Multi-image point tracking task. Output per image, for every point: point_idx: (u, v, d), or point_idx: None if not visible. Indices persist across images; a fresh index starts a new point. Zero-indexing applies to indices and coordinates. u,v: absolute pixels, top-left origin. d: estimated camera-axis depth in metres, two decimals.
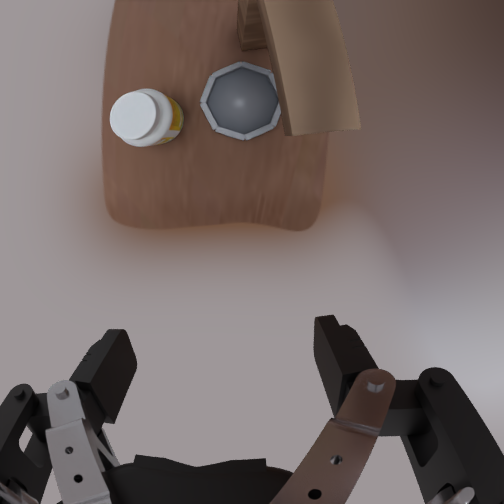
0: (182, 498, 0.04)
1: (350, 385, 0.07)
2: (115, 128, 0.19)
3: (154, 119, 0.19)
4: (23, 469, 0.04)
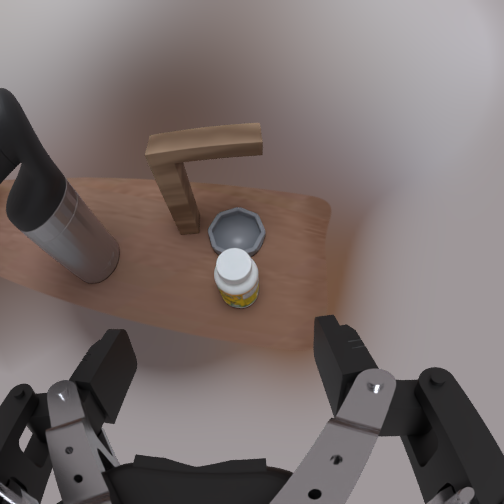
0: (182, 498, 0.04)
1: (350, 385, 0.07)
2: (239, 276, 0.31)
3: (240, 249, 0.32)
4: (23, 469, 0.04)
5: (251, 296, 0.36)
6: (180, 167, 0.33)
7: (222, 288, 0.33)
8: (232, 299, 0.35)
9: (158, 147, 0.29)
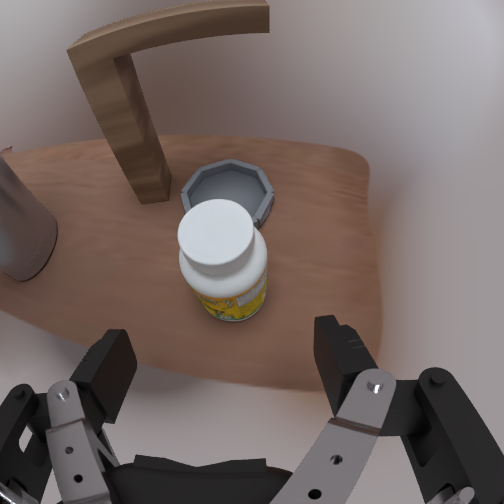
0: (182, 498, 0.04)
1: (350, 385, 0.07)
2: (227, 255, 0.14)
3: None
4: (23, 469, 0.04)
5: (254, 300, 0.19)
6: (129, 77, 0.16)
7: (194, 284, 0.16)
8: (217, 307, 0.18)
9: (89, 37, 0.12)
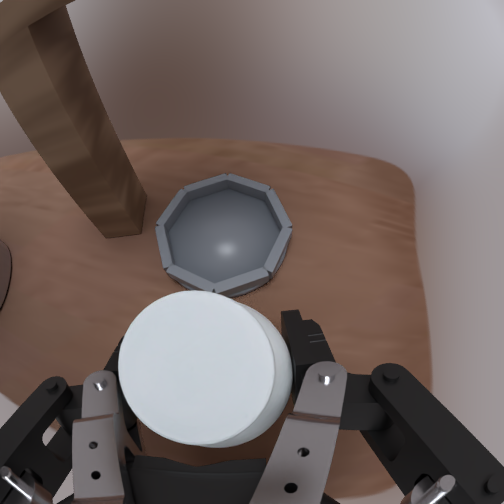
0: (182, 498, 0.04)
1: (304, 376, 0.08)
2: (219, 431, 0.05)
3: (223, 297, 0.07)
4: (42, 462, 0.04)
5: None
6: (63, 55, 0.08)
7: None
8: None
9: (3, 3, 0.03)
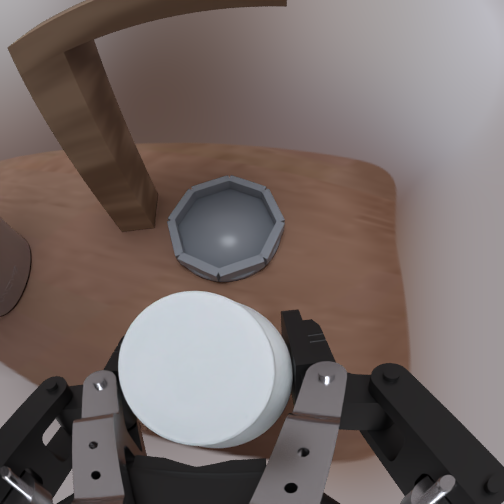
0: (182, 498, 0.04)
1: (304, 376, 0.08)
2: (219, 431, 0.05)
3: (223, 297, 0.07)
4: (42, 462, 0.04)
5: None
6: (92, 75, 0.11)
7: None
8: None
9: (37, 27, 0.06)
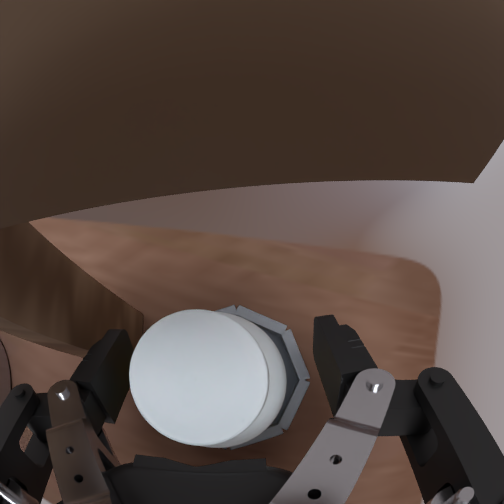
0: (182, 498, 0.04)
1: (349, 385, 0.07)
2: (219, 433, 0.06)
3: (223, 315, 0.08)
4: (23, 469, 0.04)
5: None
6: None
7: None
8: None
9: None
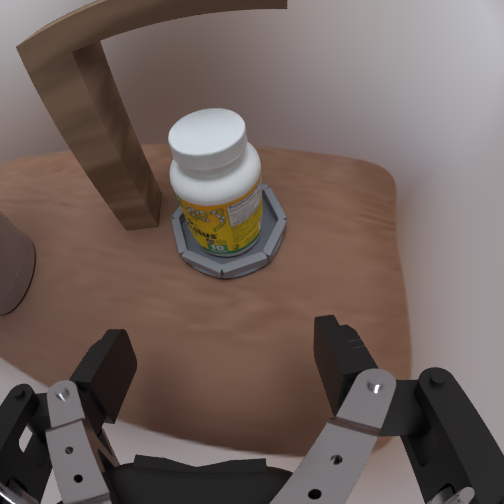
0: (182, 498, 0.04)
1: (350, 385, 0.07)
2: (217, 147, 0.12)
3: (223, 109, 0.14)
4: (23, 469, 0.04)
5: (248, 222, 0.17)
6: (98, 75, 0.11)
7: (182, 192, 0.14)
8: (207, 226, 0.17)
9: (45, 27, 0.07)
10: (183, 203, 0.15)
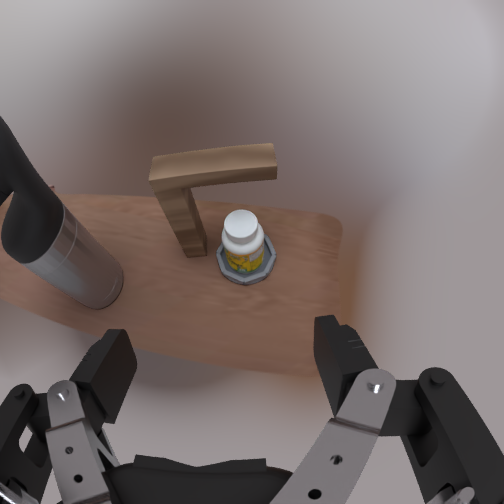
0: (182, 498, 0.04)
1: (350, 385, 0.07)
2: (246, 234, 0.33)
3: (247, 210, 0.34)
4: (23, 469, 0.04)
5: (257, 259, 0.37)
6: (186, 191, 0.32)
7: (230, 248, 0.35)
8: (239, 261, 0.37)
9: (163, 171, 0.27)
10: (229, 252, 0.36)
